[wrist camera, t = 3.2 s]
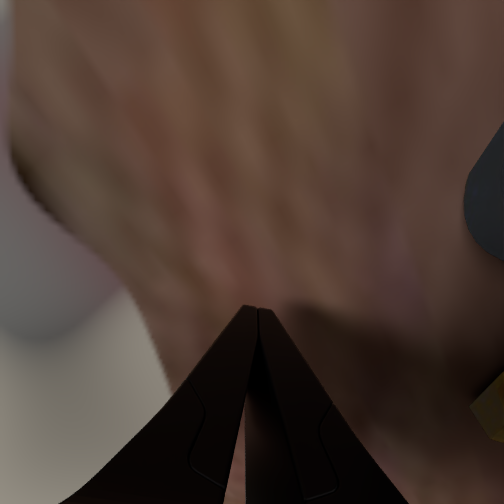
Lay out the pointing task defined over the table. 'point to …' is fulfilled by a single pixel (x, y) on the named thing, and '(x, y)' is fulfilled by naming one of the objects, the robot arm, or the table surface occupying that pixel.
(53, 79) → the table surface
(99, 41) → the table surface
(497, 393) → the pipe connector
